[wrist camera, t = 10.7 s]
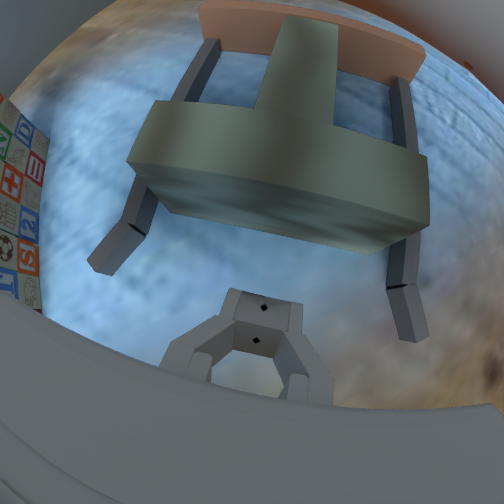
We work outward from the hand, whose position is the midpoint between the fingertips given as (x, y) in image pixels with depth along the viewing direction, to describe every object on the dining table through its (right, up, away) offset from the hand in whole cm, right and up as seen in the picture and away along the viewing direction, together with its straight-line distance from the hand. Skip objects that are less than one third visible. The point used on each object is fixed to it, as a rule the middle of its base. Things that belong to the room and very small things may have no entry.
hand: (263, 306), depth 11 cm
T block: (+2, +11, +10) cm, 15 cm away
